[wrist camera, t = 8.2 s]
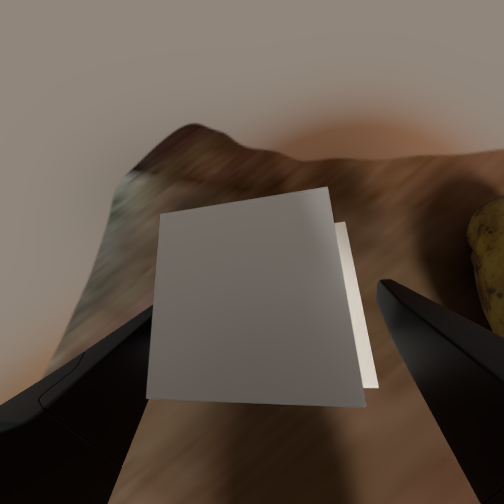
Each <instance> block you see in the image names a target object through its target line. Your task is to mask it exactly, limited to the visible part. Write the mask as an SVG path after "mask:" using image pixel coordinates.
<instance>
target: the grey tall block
mask: <svg viewBox="0 0 504 504" xmlns="http://www.w3.org/2000/svg"><path fill="white" fill-rule="evenodd" d="M146 399H160V400H185V401H210V402H234V403H259V404H284V405H309V406H333V407H358V408H367V406H366V400H365V395H364V389H363V384H362V378H361V372H360V367H359V361H358V355H357V350H356V344H355V338H354V333H353V327H352V321H351V316H350V310H349V304H348V299H347V293H346V287H345V282H344V276H343V270H342V265H341V259H340V254H339V248H338V242H337V237H336V231H335V225H334V220H333V214H332V208H331V203H330V197H329V191H328V187H322V188H316V189H310V190H304V191H298V192H292V193H286V194H280V195H274V196H268V197H261V198H255V199H249V200H243V201H237V202H231V203H225V204H219V205H213V206H207V207H200V208H194V209H188V210H182V211H176V212H170V213H164V214H161V215H160V227H159V240H158V253H157V265H156V278H155V290H154V303H153V316H152V328H151V341H150V354H149V366H148V379H147V391H146Z"/></svg>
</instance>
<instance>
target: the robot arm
mask: <svg viewBox="0 0 504 504" xmlns="http://www.w3.org/2000/svg"><path fill="white" fill-rule="evenodd" d="M376 301H377V303H378V306H379V308H380V311H381V313H382V316H383V318H384V321H385V323H386V326H387V328H388V331H389V333H390V336H391V338H392V340H393V342H394V344H395V346H396V348H397V349H398V351H399V353H400V355H401V357H402V359H403V361H404V362H405V364H406V366H407V368H408V370H409V372H410V374H411V375H412V377H413V379H414V381H415V383H416V385H417V387H418V388H419V390H420V392H421V394H422V396H423V398H424V400H425V401H426V403H427V405H428V407H429V409H430V411H431V413H432V414H433V416H434V418H435V420H436V422H437V424H438V426H439V427H440V429H441V431H442V433H443V435H444V437H445V438H446V440H447V442H448V444H449V446H450V448H451V450H452V451H453V453H454V455H455V457H456V459H457V461H458V463H459V464H460V466H461V468H462V470H463V472H464V474H465V476H466V477H467V479H468V481H469V483H470V485H471V487H472V489H473V490H474V492H475V494H476V496H477V498H478V500H479V502H480V503H481V504H504V338H503V337H501V336H499V335H497V334H495V333H493V332H492V331H490V330H488V329H486V328H484V327H482V326H480V325H478V324H476V323H474V322H472V321H470V320H468V319H466V318H465V317H463V316H461V315H459V314H457V313H455V312H453V311H451V310H449V309H447V308H445V307H443V306H441V305H440V304H438V303H436V302H434V301H432V300H430V299H428V298H426V297H424V296H422V295H420V294H418V293H416V292H414V291H413V290H411V289H409V288H407V287H405V286H403V285H401V284H399V283H397V282H395V281H393V280H391V279H383V280H379V281H378V283H377V291H376ZM152 316H153V305H152V306H150V307H149V308H147V309H146V310H144V311H143V312H142V313H140V314H139V315H137V316H136V317H134V318H133V319H131V320H130V321H128V322H127V323H125V324H124V325H122V326H121V327H120V328H118V329H117V330H115V331H114V332H112V333H111V334H109V335H108V336H106V337H105V338H103V339H102V340H100V341H99V342H97V343H96V344H95V345H93V346H92V347H90V348H89V349H87V350H86V351H84V352H83V353H81V354H80V355H78V356H77V357H75V358H74V359H72V360H71V361H69V362H68V363H66V364H65V365H63V366H62V367H60V368H59V369H57V370H56V371H54V372H53V373H51V374H50V375H48V376H46V377H45V378H43V379H42V380H40V381H38V382H37V383H35V384H34V385H32V386H30V387H29V388H27V389H26V390H24V391H22V392H21V393H19V394H18V395H16V396H14V397H13V398H11V399H10V400H8V401H6V402H5V403H3V404H2V405H0V504H108V501H109V499H110V496H111V494H112V491H113V489H114V486H115V484H116V481H117V478H118V476H119V473H120V471H121V468H122V465H123V463H124V460H125V458H126V455H127V453H128V450H129V448H130V445H131V443H132V440H133V438H134V435H135V433H136V430H137V428H138V425H139V423H140V420H141V418H142V415H143V413H144V410H145V408H146V405H147V403H148V400H149V399H146V391H147V379H148V366H149V354H150V341H151V328H152Z"/></svg>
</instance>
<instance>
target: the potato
mask: <svg viewBox="0 0 504 504" xmlns="http://www.w3.org/2000/svg"><path fill="white" fill-rule="evenodd" d="M466 231H467V234H466V237H467V239H468V244H469V246H470V247H471V248H472V249H473V250H474V251H472V254H471V261H472V264H473V266H474V273H475V280H476V286H477V290H478V294H479V298H480V302H481V305H482V308H483V311H484V313H485V316H486V318H487V320H488V322H489V324H490V326H491V329H492V331H493V333H495V334H497V335H499V336H501V337H503V338H504V196H501V197H498V198H496V199H494V200H492V201H489V202H488V203H486V204H484V205H482V206H480V207H479V208H478V209H477V210H476V211H474V214H473V216H472V218H471V220H470V222H469V225H468V227H467V230H466Z"/></svg>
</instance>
